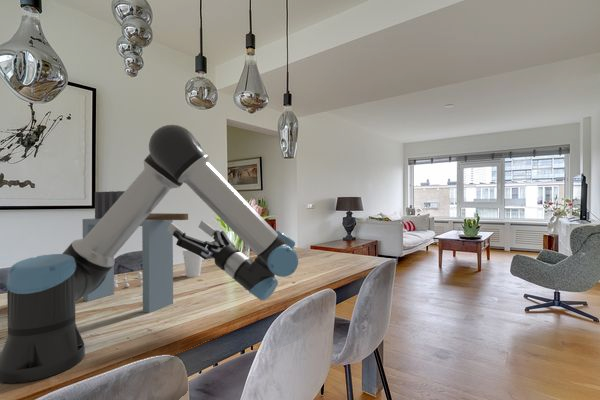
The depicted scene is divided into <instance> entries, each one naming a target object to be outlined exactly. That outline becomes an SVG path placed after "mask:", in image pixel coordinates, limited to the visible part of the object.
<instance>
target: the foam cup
mask: <svg viewBox="0 0 600 400" xmlns="http://www.w3.org/2000/svg"><path fill="white" fill-rule="evenodd" d="M182 256H183V261H184V262H183V263H184V268H185V269H184V270H185V275H186V277H187V278H196V277H200V275H201V270H202V261H203V258H202V257H200V256H199V255H197V254H195V253H193V252H191V251H188V250H186V249H184V248H182Z"/></svg>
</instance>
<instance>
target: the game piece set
mask: <svg viewBox="0 0 600 400" xmlns="http://www.w3.org/2000/svg"><path fill="white" fill-rule="evenodd" d="M124 275H125V277H123V279H124V280H128V278H127V274H126V273H124ZM137 277H138V279H141V278H142V277H143V272H141V271H138V272H137ZM117 278H118V275H117V274H115V275H114V289H117V288H118V285H119V284H118V283H119V280H118V279H117ZM139 283H140V285H139V287H143V279H142V280H140V281H139ZM124 287H126V288H129V287H130V284H129V283H128V282H126V283H125V285H124Z"/></svg>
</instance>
